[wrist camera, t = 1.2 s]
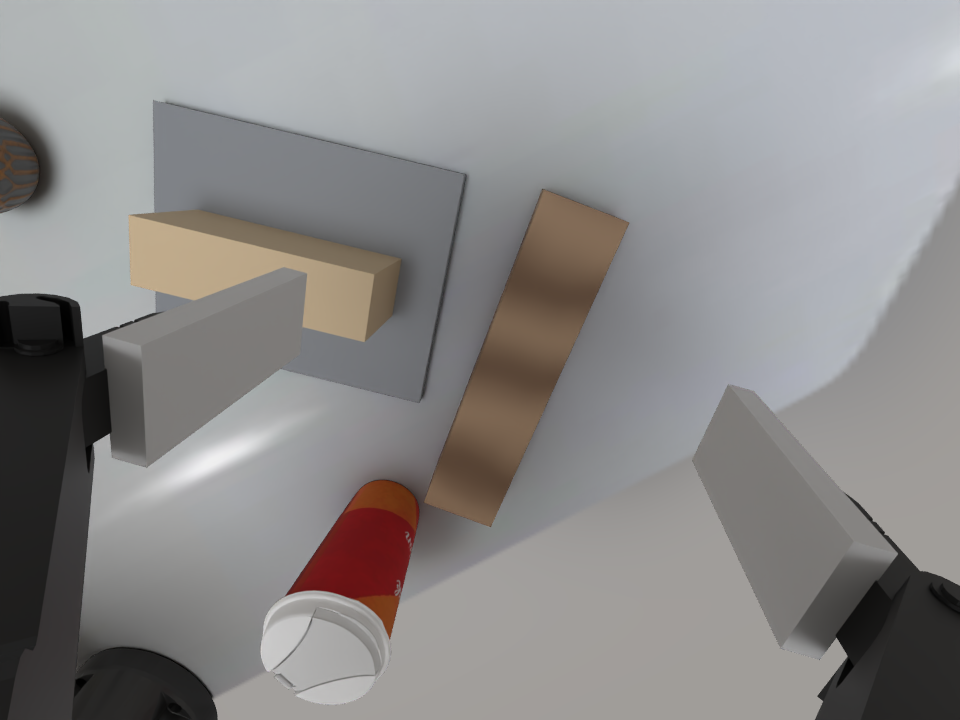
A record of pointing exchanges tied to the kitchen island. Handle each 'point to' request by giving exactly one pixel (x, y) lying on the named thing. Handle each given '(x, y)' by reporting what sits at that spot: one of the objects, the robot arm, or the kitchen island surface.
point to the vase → (16, 168)
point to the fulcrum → (303, 239)
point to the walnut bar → (524, 353)
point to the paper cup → (345, 600)
